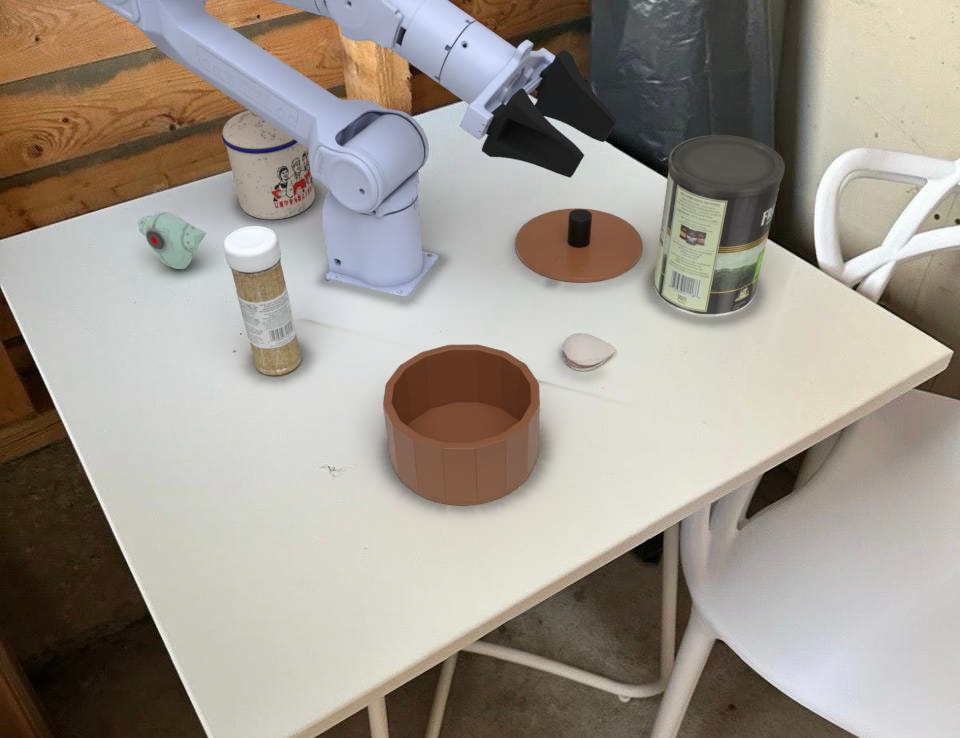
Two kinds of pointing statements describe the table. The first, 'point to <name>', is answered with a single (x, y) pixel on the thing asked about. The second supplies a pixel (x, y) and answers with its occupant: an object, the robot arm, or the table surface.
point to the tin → (462, 423)
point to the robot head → (171, 238)
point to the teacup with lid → (267, 168)
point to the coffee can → (716, 223)
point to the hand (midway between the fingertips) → (594, 148)
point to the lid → (578, 245)
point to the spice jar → (263, 298)
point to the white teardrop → (586, 351)
